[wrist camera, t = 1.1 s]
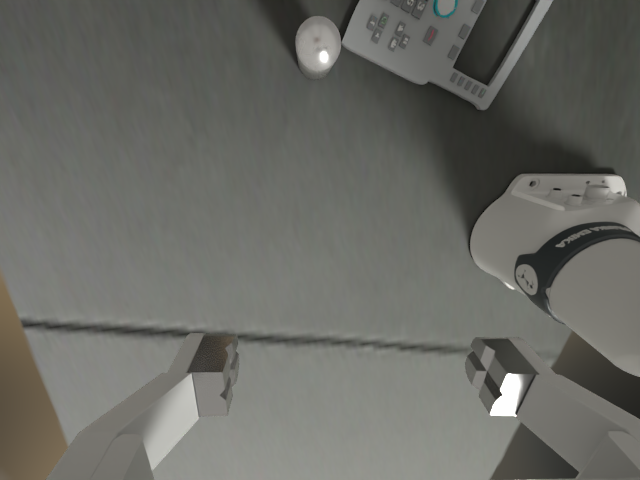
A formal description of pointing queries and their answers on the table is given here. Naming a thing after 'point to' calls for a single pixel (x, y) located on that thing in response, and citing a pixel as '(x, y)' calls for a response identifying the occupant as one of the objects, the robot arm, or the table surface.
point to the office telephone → (431, 42)
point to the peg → (317, 47)
